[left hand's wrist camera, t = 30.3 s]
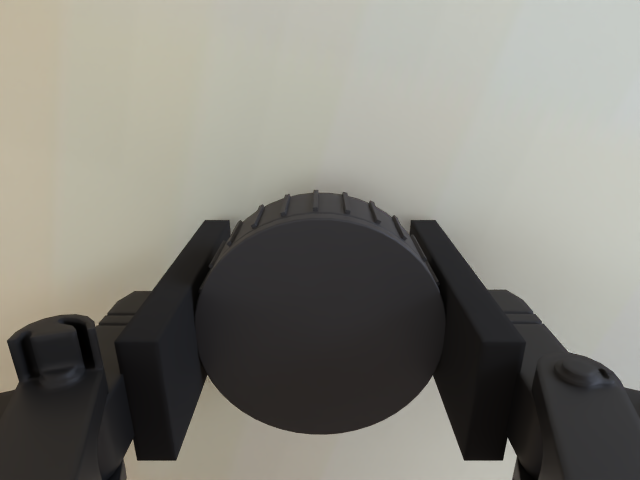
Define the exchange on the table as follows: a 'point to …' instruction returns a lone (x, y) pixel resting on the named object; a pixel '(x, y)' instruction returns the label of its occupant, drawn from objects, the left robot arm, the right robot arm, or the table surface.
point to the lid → (320, 315)
